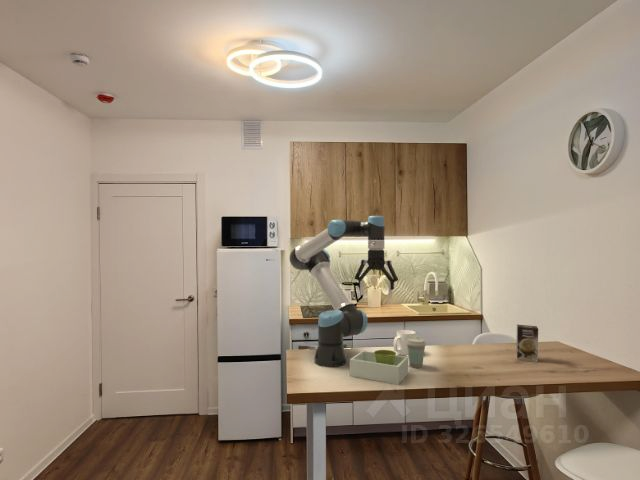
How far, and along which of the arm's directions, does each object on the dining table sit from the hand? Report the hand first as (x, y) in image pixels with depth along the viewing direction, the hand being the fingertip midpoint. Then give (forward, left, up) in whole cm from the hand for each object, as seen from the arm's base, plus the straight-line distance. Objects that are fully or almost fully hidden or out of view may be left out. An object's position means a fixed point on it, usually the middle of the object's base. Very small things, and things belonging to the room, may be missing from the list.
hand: (375, 295), depth 185 cm
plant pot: (+8, -12, -31) cm, 34 cm away
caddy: (+6, -12, -32) cm, 34 cm away
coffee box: (+62, +43, -32) cm, 82 cm away
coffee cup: (+17, +7, -32) cm, 37 cm away
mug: (+7, +25, -32) cm, 41 cm away
